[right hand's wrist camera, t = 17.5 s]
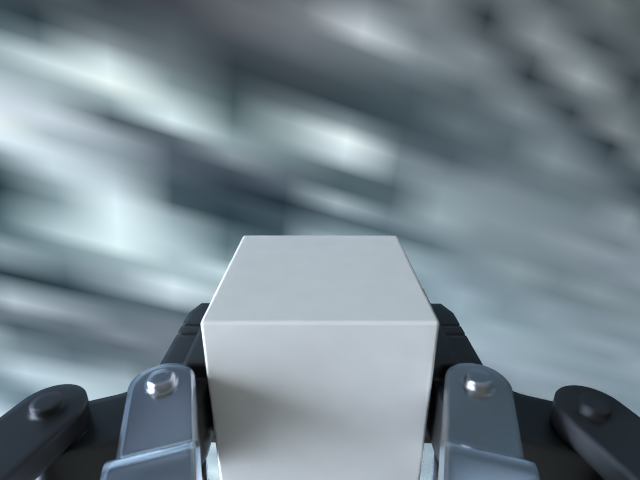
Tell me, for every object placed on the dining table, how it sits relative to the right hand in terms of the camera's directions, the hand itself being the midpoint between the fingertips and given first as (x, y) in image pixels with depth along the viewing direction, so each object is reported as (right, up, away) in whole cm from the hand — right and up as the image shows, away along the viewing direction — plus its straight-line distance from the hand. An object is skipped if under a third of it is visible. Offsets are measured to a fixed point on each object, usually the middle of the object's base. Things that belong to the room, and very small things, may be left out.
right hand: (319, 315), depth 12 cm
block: (0, 0, 0) cm, 1 cm away
